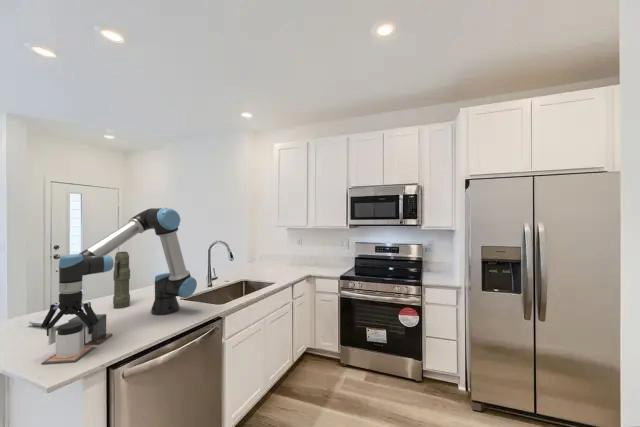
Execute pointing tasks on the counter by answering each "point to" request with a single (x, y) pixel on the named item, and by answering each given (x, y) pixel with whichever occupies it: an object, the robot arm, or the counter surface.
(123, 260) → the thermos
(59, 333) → the jar
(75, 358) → the mat
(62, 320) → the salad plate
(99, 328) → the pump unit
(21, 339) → the counter surface
